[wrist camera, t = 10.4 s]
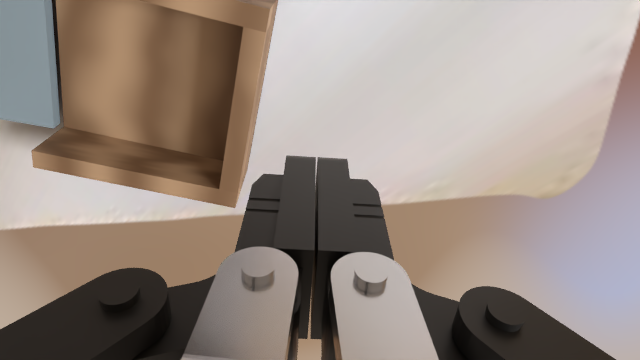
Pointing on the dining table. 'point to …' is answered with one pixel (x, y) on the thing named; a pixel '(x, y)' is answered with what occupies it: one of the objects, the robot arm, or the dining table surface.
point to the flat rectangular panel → (28, 63)
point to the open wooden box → (160, 93)
